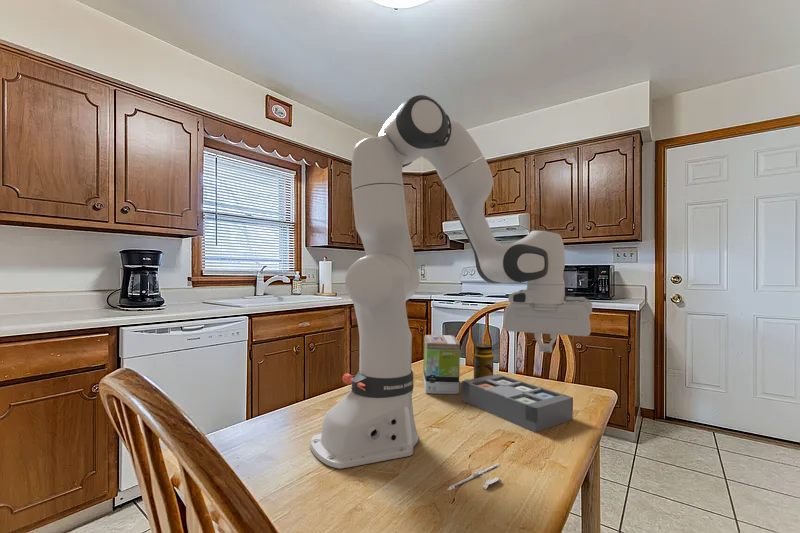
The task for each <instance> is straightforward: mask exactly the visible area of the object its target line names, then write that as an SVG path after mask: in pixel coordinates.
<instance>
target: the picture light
mask: <svg viewBox="0 0 800 533" xmlns="http://www.w3.org/2000/svg"><path fill="white" fill-rule="evenodd" d="M501 464H502V463H495V464H494V465H491V466H490V467H488V468H485V469H484V468H479V469H477V470H475V471H474V473H473V474H472V475H471V476H468V477H467V478H465V479H462V480H460V481H459V482H457V483H454V484H452V485H450V486H449V487H448V488H447V489H446V490H447V491H451V490H455V489H456V488H458V487H460V486H462V485H464V484H466V483H468V482H470V481H472V480H474V479H476V478H478V477H480V476H484V478H485V483H484V485H483V486H482V488H483V490H485V491H487V488H488V487H489V485H492V484H493V483H496V482H499V483H503V482H502V479H501V478H499V477H497V476H496V477H494V478H493V479H491V478H490V475H489V473H488V472H491V471H492V470H494V469H496V468H499V467H500V466H501ZM486 474H487V477H488V480H487V477H486Z"/></svg>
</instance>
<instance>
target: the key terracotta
mask: <svg viewBox="0 0 800 533" xmlns="http://www.w3.org/2000/svg"><path fill="white" fill-rule="evenodd" d="M477 386H480V387H482V388H485V389H488V388H492V387H494V386H491V385H489V384H481V385H477Z"/></svg>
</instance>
